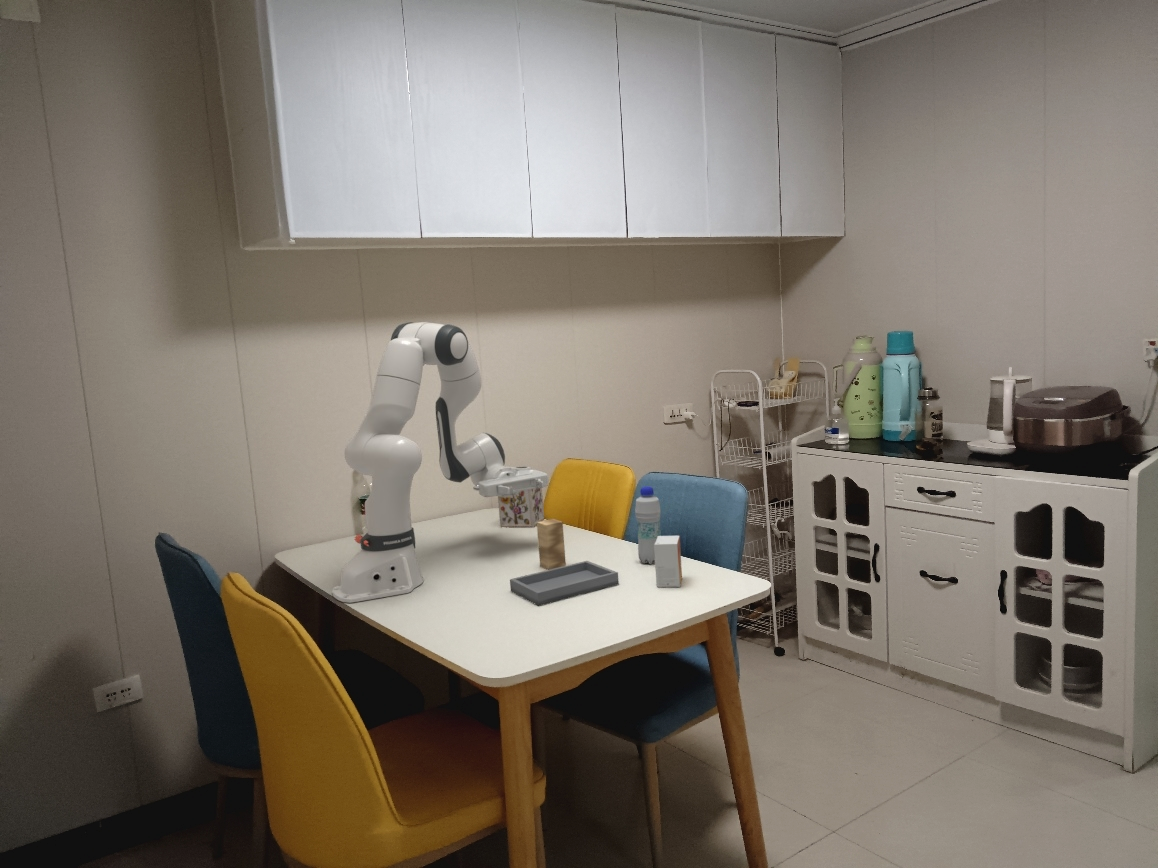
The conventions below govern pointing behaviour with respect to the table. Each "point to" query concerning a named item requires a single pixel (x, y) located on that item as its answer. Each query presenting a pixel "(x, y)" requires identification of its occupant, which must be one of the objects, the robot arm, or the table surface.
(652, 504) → the bottle
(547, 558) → the oak block
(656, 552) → the small box
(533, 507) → the decorative jar
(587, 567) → the tray
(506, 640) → the table surface
